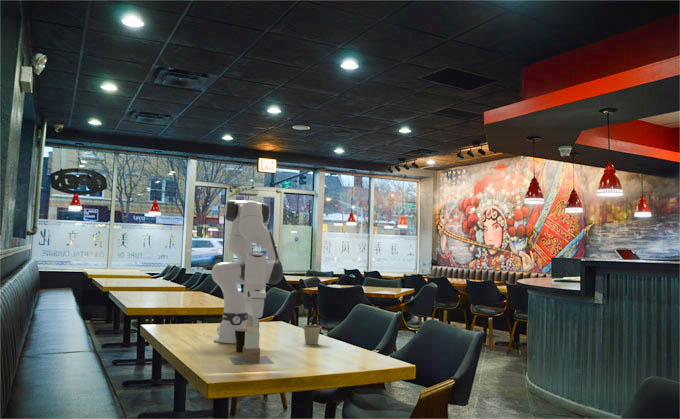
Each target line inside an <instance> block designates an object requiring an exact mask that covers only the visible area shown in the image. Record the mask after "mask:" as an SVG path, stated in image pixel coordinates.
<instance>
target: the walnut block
mask: <svg viewBox="0 0 680 419" xmlns="http://www.w3.org/2000/svg"><path fill="white" fill-rule="evenodd" d="M242 356H243V357H242V359H243V360H244V361H245V362H254V361H260V356H261V348H260V347H259V348H256V349H246V348H245V347H244V346H243V353H242Z"/></svg>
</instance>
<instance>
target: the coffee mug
mask: <svg viewBox="0 0 680 419" xmlns="http://www.w3.org/2000/svg"><path fill="white" fill-rule="evenodd" d="M245 332H246V329H235V339H236V343H235V352H237V353H242V354H243V346H245Z"/></svg>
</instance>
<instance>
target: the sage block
mask: <svg viewBox="0 0 680 419" xmlns="http://www.w3.org/2000/svg"><path fill="white" fill-rule="evenodd" d="M244 347H245V348H246V349H256V348H260V332H259V333H247V332H245V346H244Z"/></svg>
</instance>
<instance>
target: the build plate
mask: <svg viewBox="0 0 680 419" xmlns="http://www.w3.org/2000/svg"><path fill="white" fill-rule="evenodd" d="M242 357H243V355H241V356H239V355H238V356H228V359H230V361H231V363H232V364H233V366H240V365H241V366H242V365H247V366H248V365H269V364H270V365H273V364H275V362H274V361H273V360H272V359H271V358H270V357H268V355H260V361H254V362H245V361H244V360H243V359H242Z"/></svg>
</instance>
